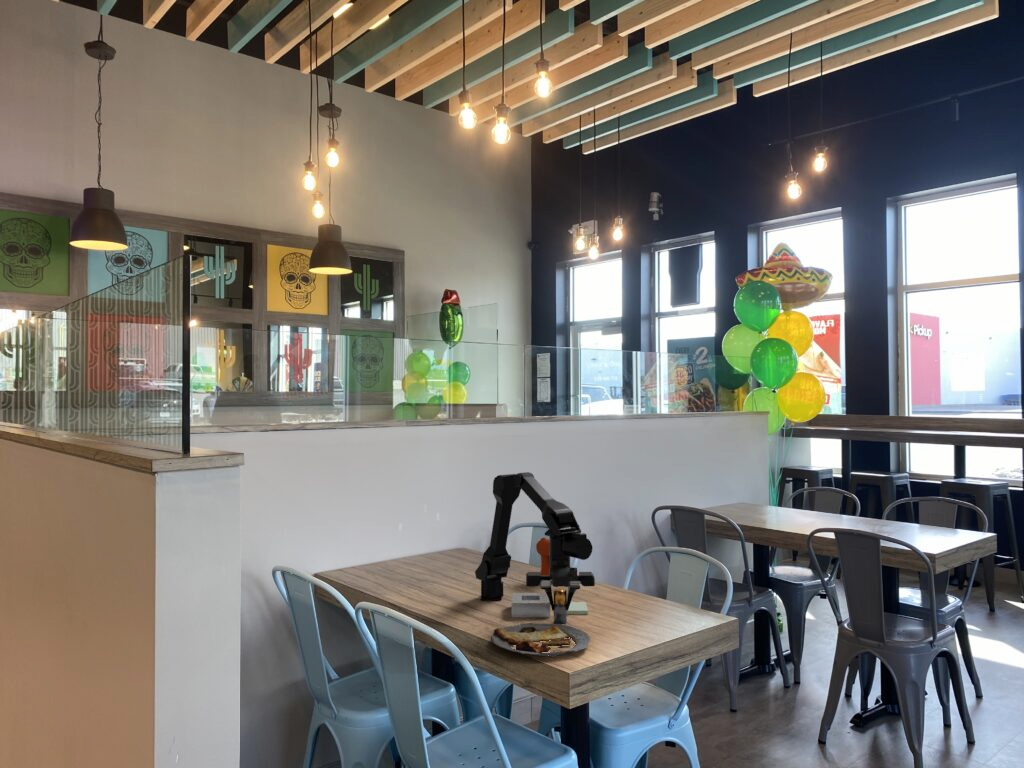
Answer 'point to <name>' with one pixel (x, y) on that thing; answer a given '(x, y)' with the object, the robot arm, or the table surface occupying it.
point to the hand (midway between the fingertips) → (560, 610)
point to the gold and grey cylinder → (560, 606)
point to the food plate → (539, 638)
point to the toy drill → (544, 555)
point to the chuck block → (530, 605)
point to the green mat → (577, 608)
